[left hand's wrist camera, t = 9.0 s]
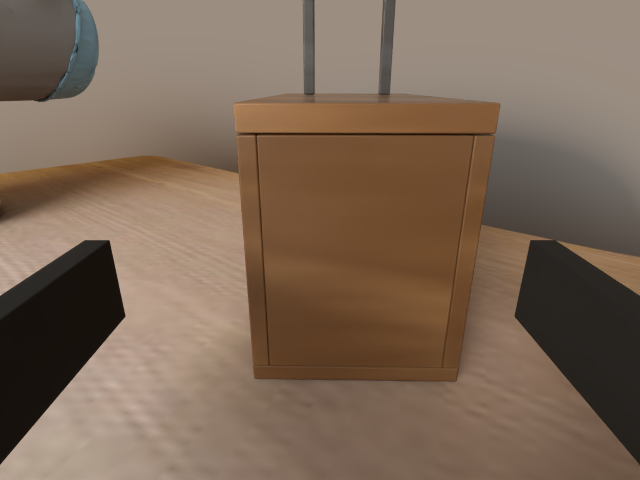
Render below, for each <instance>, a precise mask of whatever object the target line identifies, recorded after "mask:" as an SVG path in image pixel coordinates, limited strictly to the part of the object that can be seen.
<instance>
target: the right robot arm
mask: <svg viewBox="0 0 640 480" xmlns="http://www.w3.org/2000/svg"><path fill="white" fill-rule="evenodd" d="M98 54H99V43H98V34H97V29H96V25H95V22H94V19H93V16H92V14H91V12H90V10H89V8H88V7H87V5H86V4H85V2H84V1H82V0H0V101H25V100H34V101H38V102H45V101H48V100H50V99H62V98H71V97H74V96H77V95H79V94H80V93H82V92H83V91H84V90H85V89H86V88H87V87H88V85H89V84H90V82H91V81H92V79H93V77H94V73H95V68H96V66H97V63H98ZM2 212H3V207H2V204H1V200H0V214H1V213H2Z"/></svg>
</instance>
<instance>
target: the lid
mask: <svg viewBox="0 0 640 480" xmlns="http://www.w3.org/2000/svg"><path fill="white" fill-rule="evenodd" d="M394 16H395V0H383V14H382V33H381V53H380V73H379V92H378V93H379V94H314V93H315V56H314V55H315V54H314V53H315V52H314V0H303V44H304V94H282V95H276V96H271V97H265V98H259V99H253V100H248V101H242V102H236V103H234V117H235V130H236V132H237V133H376V134H494V133H496V128H497V122H498V115H499V109H500V103H494V102H484V101H473V100H463V99H452V98H442V97H432V96H421V95H411V94H390V81H391V65H392V48H393V32H394Z"/></svg>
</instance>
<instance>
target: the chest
mask: <svg viewBox="0 0 640 480" xmlns="http://www.w3.org/2000/svg"><path fill="white" fill-rule="evenodd" d="M494 140H495V136H493V135H490V134H376V133H240V134H238V135H237V136H236V143H237V156H238V169H239V183H240V196H241V209H242V222H243V236H244V249H245V262H246V275H247V289H248V302H249V315H250V328H251V342H252V355H253V364H254V366H253V368H254V378H262V379H336V380H411V381H456V380H457V373H458V367H459V361H460V354H461V348H462V342H463V335H464V329H465V323H466V317H467V310H468V304H469V298H470V291H471V285H472V279H473V272H474V266H475V260H476V254H477V247H478V241H479V235H480V228H481V222H482V216H483V209H484V203H485V197H486V191H487V184H488V178H489V172H490V165H491V159H492V153H493V146H494Z"/></svg>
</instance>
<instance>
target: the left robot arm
mask: <svg viewBox="0 0 640 480" xmlns="http://www.w3.org/2000/svg"><path fill="white" fill-rule="evenodd" d="M124 318H125V312H124V307H123V302H122V298H121V293H120V288H119V283H118V279H117V274H116V269H115V264H114V260H113V255H112V250H111V245H110V241H109V240H85V241H83V242H82V243H80V244H79V245H77V246H75V247H74V248H72V249H71V250H69V251H68V252H66V253H65V254H63V255H62V256H60V257H59V258H57V259H56V260H54V261H53V262H51V263H50V264H48V265H47V266H45V267H43V268H42V269H40V270H39V271H37V272H36V273H34V274H33V275H31V276H30V277H28V278H27V279H25V280H24V281H22V282H21V283H19V284H18V285H16V286H14V287H13V288H11V289H10V290H8V291H7V292H5V293H4V294H2V295H1V296H0V464H1V463H2V462H3V461H4V460H5V458H6V457H7V456H8V455H9V454H10V452H11V451H12V450H13V449H14V448H15V447H16V445H17V444H18V443H19V442H20V441H21V439H22V438H23V437H24V436H25V435H26V434H27V432H28V431H29V430H30V429H31V428H32V426H33V425H34V424H35V423H36V422H37V420H38V419H39V418H40V417H41V416H42V415H43V413H44V412H45V411H46V410H47V409H48V407H49V406H50V405H51V404H52V403H53V402H54V400H55V399H56V398H57V397H58V396H59V394H60V393H61V392H62V391H63V390H64V389H65V387H66V386H67V385H68V384H69V383H70V381H71V380H72V379H73V378H74V377H75V376H76V374H77V373H78V372H79V371H80V370H81V368H82V367H83V366H84V365H85V364H86V363H87V361H88V360H89V359H90V358H91V357H92V355H93V354H94V353H95V352H96V351H97V349H98V348H99V347H100V346H101V345H102V344H103V342H104V341H105V340H106V339H107V338H108V336H109V335H110V334H111V333H112V332H113V331H114V329H115V328H116V327H117V326H118V325H119V323H120V322H121V321H122V320H123V319H124ZM515 318H516V319H517V320H518V321H519V322H520V323H521V325H522V326H523V327H524V328H525V329H526V331H527V332H528V333H529V334H530V335H531V336H532V338H533V339H534V340H535V341H536V342H537V344H538V345H539V346H540V347H541V348H542V349H543V351H544V352H545V353H546V354H547V355H548V357H549V358H550V359H551V360H552V361H553V363H554V364H555V365H556V366H557V367H558V368H559V370H560V371H561V372H562V373H563V374H564V376H565V377H566V378H567V379H568V380H569V381H570V383H571V384H572V385H573V386H574V387H575V389H576V390H577V391H578V392H579V393H580V394H581V396H582V397H583V398H584V399H585V400H586V402H587V403H588V404H589V405H590V406H591V407H592V409H593V410H594V411H595V412H596V413H597V415H598V416H599V417H600V418H601V419H602V420H603V422H604V423H605V424H606V425H607V426H608V428H609V429H610V430H611V431H612V432H613V434H614V435H615V436H616V437H617V438H618V439H619V441H620V442H621V443H622V444H623V445H624V447H625V448H626V449H627V450H628V451H629V452H630V454H631V455H632V456H633V457H634V458H635V460H636V461H637V462H638V463H639V464H640V296H639V295H638V294H636V293H635V292H633V291H632V290H630V289H629V288H627V287H626V286H624V285H622V284H621V283H619V282H618V281H616V280H615V279H613V278H612V277H610V276H609V275H607V274H606V273H604V272H603V271H601V270H600V269H598V268H597V267H595V266H593V265H592V264H590V263H589V262H587V261H586V260H584V259H583V258H581V257H580V256H578V255H577V254H575V253H574V252H572V251H571V250H569V249H568V248H566V247H565V246H563V245H561V244H560V243H558V242H557V241H555V240H531V241H530V245H529V250H528V255H527V260H526V264H525V269H524V274H523V279H522V283H521V288H520V293H519V298H518V302H517V307H516V312H515Z"/></svg>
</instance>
